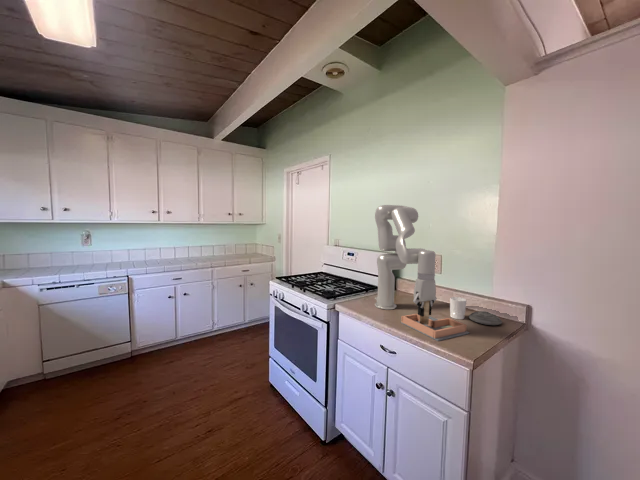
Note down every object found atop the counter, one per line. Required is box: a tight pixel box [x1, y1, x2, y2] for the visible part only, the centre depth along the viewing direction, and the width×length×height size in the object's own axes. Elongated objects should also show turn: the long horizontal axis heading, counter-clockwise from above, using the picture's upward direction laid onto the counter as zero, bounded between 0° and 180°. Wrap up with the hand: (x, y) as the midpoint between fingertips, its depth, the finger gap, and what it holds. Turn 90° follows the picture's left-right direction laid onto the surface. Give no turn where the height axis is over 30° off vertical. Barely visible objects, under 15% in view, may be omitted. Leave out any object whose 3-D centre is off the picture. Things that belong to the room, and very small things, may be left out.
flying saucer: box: [468, 310, 503, 326], centre depth 144 cm, size 15×15×6 cm
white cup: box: [449, 296, 467, 320], centre depth 149 cm, size 8×8×10 cm
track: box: [400, 313, 470, 342], centre depth 134 cm, size 23×20×4 cm
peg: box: [420, 301, 430, 325], centre depth 132 cm, size 4×4×12 cm
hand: (424, 314), depth 132 cm, fingers closed on peg, 4 cm apart
